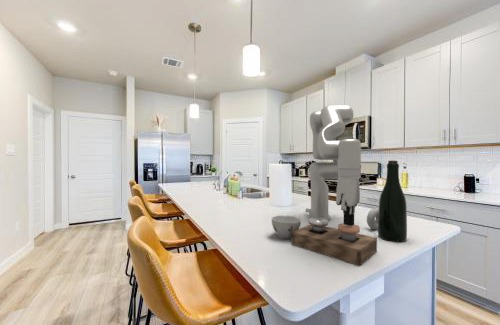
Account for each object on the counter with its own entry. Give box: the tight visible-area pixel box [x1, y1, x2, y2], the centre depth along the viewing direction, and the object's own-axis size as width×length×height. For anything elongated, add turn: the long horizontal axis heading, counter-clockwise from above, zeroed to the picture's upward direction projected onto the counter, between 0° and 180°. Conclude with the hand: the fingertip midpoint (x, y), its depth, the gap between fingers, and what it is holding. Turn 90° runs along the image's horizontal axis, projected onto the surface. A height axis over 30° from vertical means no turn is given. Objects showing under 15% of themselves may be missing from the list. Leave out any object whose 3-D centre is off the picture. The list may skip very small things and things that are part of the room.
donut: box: [366, 207, 379, 230], centre depth 110 cm, size 10×4×10 cm, turn 117°
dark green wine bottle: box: [377, 160, 408, 243], centre depth 98 cm, size 10×10×33 cm
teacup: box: [271, 215, 302, 240], centre depth 101 cm, size 15×12×8 cm
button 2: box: [337, 222, 361, 243], centre depth 84 cm, size 7×7×6 cm
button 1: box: [308, 217, 329, 235], centre depth 92 cm, size 7×7×6 cm
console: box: [291, 224, 378, 267], centre depth 88 cm, size 26×16×5 cm, turn 45°
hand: (348, 224), depth 83 cm, fingers closed
